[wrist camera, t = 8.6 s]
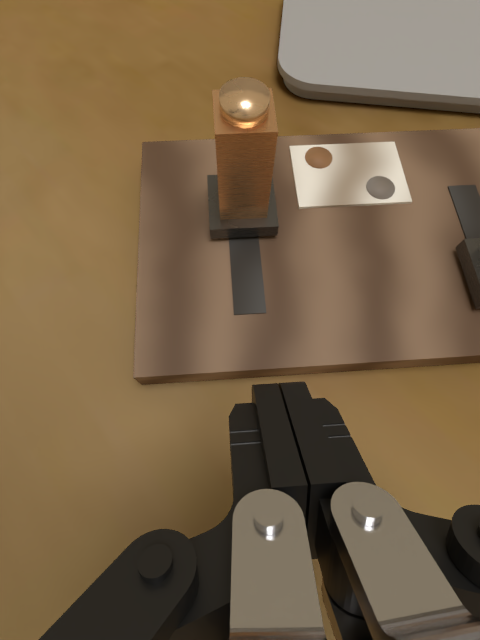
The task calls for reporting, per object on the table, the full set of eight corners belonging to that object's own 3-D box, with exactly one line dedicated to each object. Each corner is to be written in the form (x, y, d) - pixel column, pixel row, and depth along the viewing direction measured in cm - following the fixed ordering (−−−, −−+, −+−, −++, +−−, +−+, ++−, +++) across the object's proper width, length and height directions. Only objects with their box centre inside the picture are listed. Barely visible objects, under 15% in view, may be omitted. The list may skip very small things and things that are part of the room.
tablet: (569, 131, 32) (593, 107, 30) (273, 105, 32) (275, 80, 30) (534, 15, 38) (551, -11, 35) (284, -4, 38) (287, -32, 36)
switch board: (141, 384, 23) (132, 376, 20) (148, 162, 29) (141, 138, 27) (602, 354, 24) (638, 343, 22) (509, 147, 30) (530, 123, 28)
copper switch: (210, 238, 24) (198, 131, 16) (208, 185, 25) (196, 64, 18) (277, 235, 24) (297, 127, 16) (270, 182, 26) (286, 61, 18)
